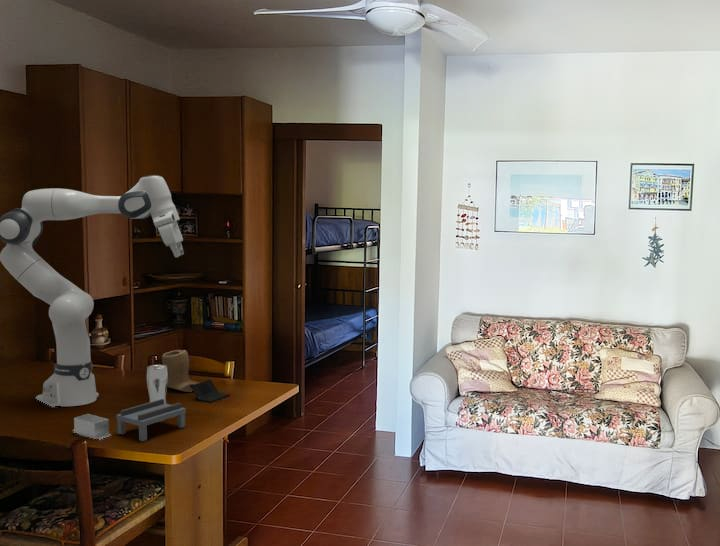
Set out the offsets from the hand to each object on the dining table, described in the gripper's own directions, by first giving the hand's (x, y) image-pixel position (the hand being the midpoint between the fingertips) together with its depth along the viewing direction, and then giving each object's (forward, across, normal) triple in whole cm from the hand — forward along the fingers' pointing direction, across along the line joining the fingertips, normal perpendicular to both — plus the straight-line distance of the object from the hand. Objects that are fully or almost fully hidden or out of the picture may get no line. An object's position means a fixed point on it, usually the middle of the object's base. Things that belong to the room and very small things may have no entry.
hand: (179, 255), depth 250 cm
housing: (+42, +38, -38) cm, 68 cm away
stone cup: (+49, -14, -19) cm, 54 cm away
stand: (+48, +36, -21) cm, 63 cm away
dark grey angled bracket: (+53, 0, -7) cm, 54 cm away
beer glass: (+47, +13, -23) cm, 54 cm away
